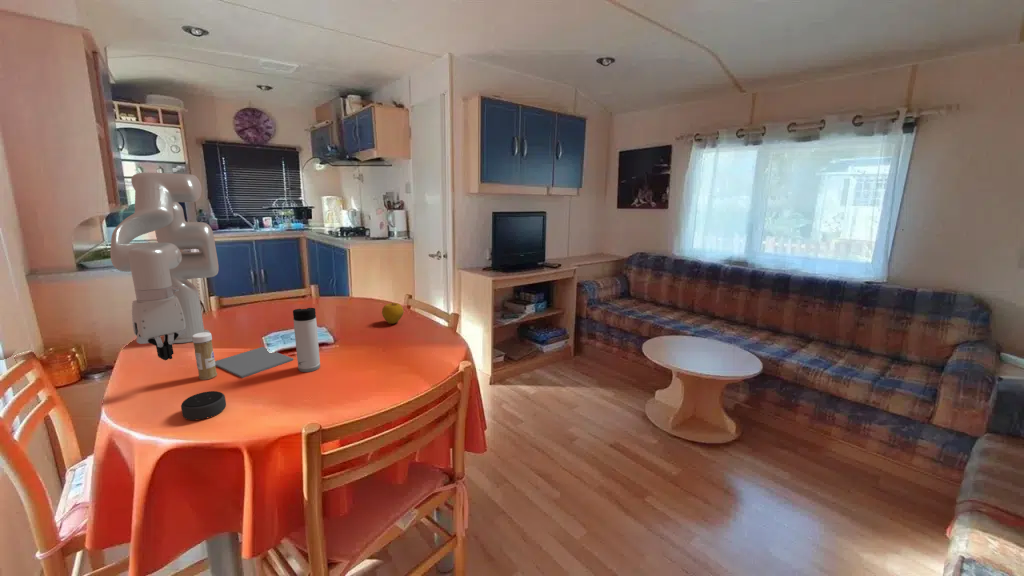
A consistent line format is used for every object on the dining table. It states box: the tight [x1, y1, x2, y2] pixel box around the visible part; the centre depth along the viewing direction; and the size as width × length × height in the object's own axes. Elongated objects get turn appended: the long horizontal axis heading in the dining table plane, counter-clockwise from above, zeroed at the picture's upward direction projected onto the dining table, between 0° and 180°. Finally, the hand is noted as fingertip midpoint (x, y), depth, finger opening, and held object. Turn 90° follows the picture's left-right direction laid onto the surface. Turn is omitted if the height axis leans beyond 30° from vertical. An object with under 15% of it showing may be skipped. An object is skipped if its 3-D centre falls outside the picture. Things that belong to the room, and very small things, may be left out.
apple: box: [381, 302, 404, 325], centre depth 174 cm, size 9×9×9 cm
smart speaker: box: [180, 390, 227, 421], centre depth 103 cm, size 9×9×4 cm
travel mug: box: [292, 307, 321, 373], centre depth 128 cm, size 6×7×20 cm
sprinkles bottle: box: [192, 331, 218, 381], centre depth 121 cm, size 5×5×13 cm
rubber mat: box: [215, 346, 294, 379], centre depth 133 cm, size 18×16×1 cm
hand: (166, 358), depth 113 cm, fingers closed
